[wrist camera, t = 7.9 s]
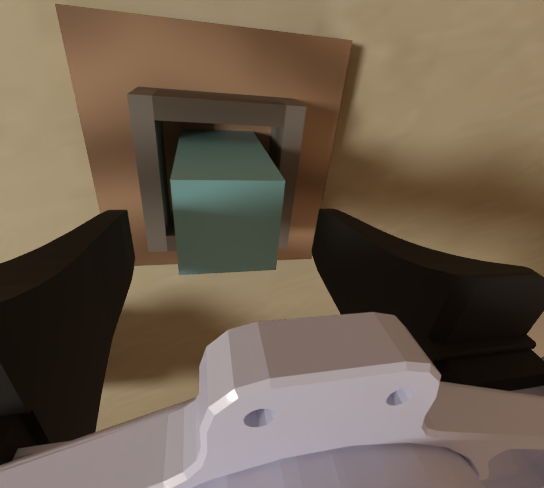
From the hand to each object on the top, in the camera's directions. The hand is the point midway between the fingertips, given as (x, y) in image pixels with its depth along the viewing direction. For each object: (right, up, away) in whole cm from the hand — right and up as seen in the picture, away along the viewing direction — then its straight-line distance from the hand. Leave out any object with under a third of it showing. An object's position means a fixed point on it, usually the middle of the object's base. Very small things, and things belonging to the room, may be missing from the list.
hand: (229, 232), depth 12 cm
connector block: (-2, +4, +7) cm, 8 cm away
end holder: (-2, +5, +8) cm, 9 cm away
